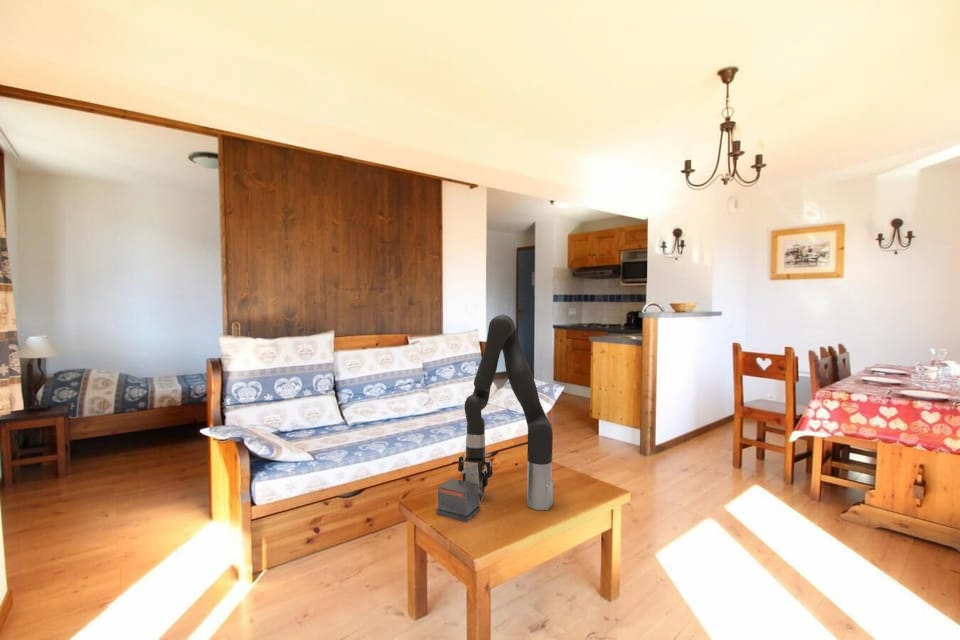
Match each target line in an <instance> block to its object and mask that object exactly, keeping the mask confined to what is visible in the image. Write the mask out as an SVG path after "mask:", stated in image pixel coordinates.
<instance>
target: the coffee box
mask: <svg viewBox="0 0 960 640" xmlns="http://www.w3.org/2000/svg"><path fill="white" fill-rule="evenodd" d="M484 466H485V467H486V465H484ZM484 466H483V465H482V461H479V460H474V459H467V461H465V467H466V477H465V481H466V482H470V483H475V484H479V505H481V504H482V502H483V500H484V498H485V495H486V487H485V488H483V476H482V470H483V469H484Z"/></svg>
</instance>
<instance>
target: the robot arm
mask: <svg viewBox="0 0 960 640" xmlns="http://www.w3.org/2000/svg"><path fill="white" fill-rule="evenodd" d="M485 341H486V342H485V346H484V350H483V353H482V357H481V360H480V362H479V365H478V368H477V371H476V373H475V377H474V380H473V386H474V389H473V392H472V394H471V395H469V396H467V397H466V399H465V401H464V413H465V419H466V437H465V455H464V454H463V455H460V456H459V457H458V463H457V465H458V467H457V471H458V472H460V473H462V481H465V477H466V466H465V462H466V461H467V459H474V460H479V461H482V465H483V466H484V465H485V466H484V469H483V470H482V476H483V488H485V489H486V488H487V486H488V484H489V483H488V482H489V479H490V478H491V477H492V476H493V475H494V474H493V473H494V472H493V471H494V470H493V460H489V461H487V460H486V435H485V434H486V433H485V427H486V424H485V419H484V418H483V417H482V410H484V409H486V407H487V406H488V403H489V399H490V395H491V388H492V384H493V383H494V380H495V377H496V373H497V370H498V363H499V360H500V356H501V352H502V353H503V359H504V366H505V371H506V372H505V373H506V377H507V378H508V382H509V384H510V387H511V390H512V392H513V393H514V396H515V398H516V399H517V401H518V403H519V405H520V407H521V408H522V411H523V415H524V417H525V421H526V425H527V465H526V467H527V469H526V472H527V473H526V474H527V476H526V481H527V482H526V488H527V489H526V505H527V507H529V508H530V509H533V510H535V511H536V510H537V511H549V510H550V508H551V507H552V506H553V505H554V480H553V479H552V477H553V476H552V469H553V468H552V467H553V466H552V465H553V441H554V440H553V436H554V435H553V427H552V424H551V423H550V420H549V419H548V416H547V415H546V412H545V410H544V408H543V406H542V403H541V400H540V397H539V391H538V389H537V384H536V382H535V378H534V376H533V375H534V374H533V373H532V370H531V368H530V365H529V363H528V360H527V358H526V356H525V353H524V351H523V349H522V346H521V343H520V341H519V337H518V332H517V329H516V324H515V322H514V319H512V318H511V316H509V315H506V314H499V315H497V316H494V317H493V318H491V320H490V322H489V325H488V328H487V337H486V340H485Z"/></svg>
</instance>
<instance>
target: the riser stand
mask: <svg viewBox="0 0 960 640" xmlns="http://www.w3.org/2000/svg"><path fill="white" fill-rule="evenodd" d="M437 499H438V500H437V506H438V507H437V509H436V510H435V512H436V515H439V516H443V517H447V518H449V519H454V520H458V521H462V522H465V523H468V522H469V521H470V520H471V519H473V517H475V516H476V515H477V514H479V512H481V506H480V504H479V484H475V483H470V482H466V481H463V480H460V479H457V478H453V477H451V478H449V479H447V480H446V481H445V482H443V483H442V484H440V485H438V486H437Z"/></svg>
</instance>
